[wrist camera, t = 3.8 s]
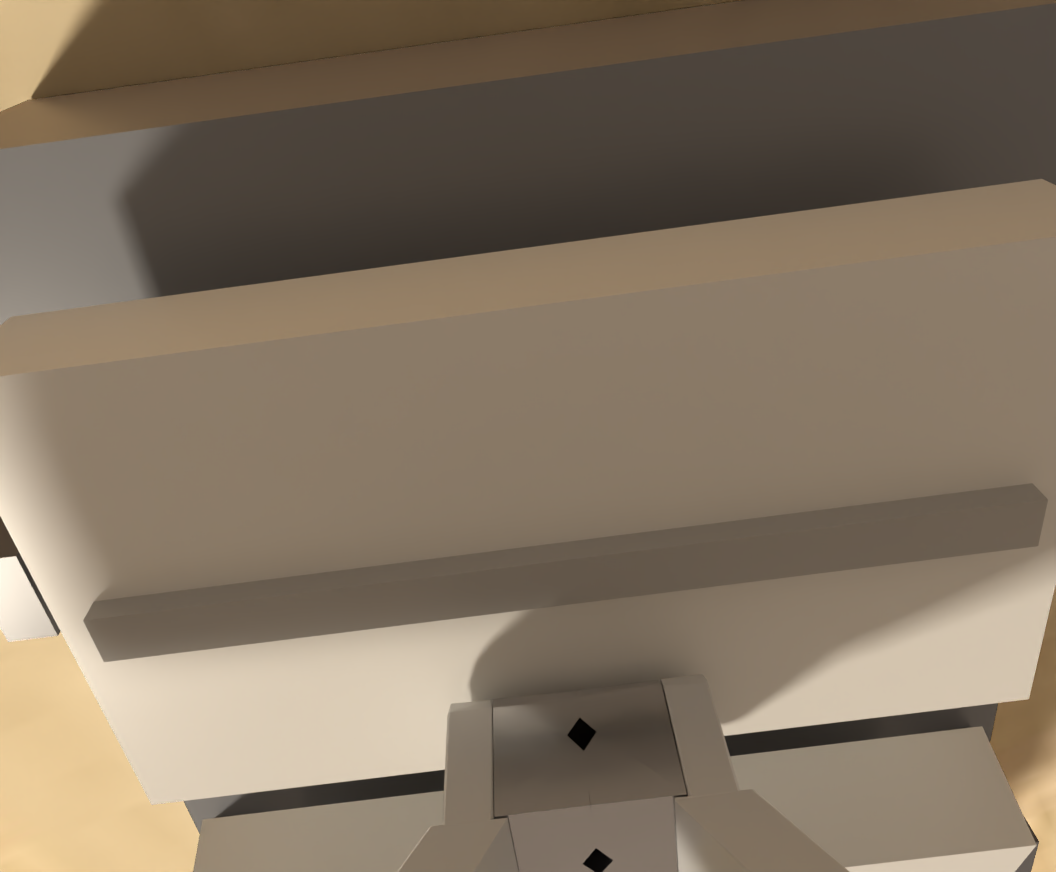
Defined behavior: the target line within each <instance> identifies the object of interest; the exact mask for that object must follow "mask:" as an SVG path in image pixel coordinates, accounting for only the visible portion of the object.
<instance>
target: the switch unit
mask: <svg viewBox="0 0 1056 872" xmlns="http://www.w3.org/2000/svg"><path fill="white" fill-rule="evenodd" d="M1036 179H1044V180H1046V181H1048V182H1050V183H1052V184H1054V185H1056V0H741V1H734V2H727V3H719V4H712V5H705V6H698V7H691V8H684V9H676V10H669V11H662V12H655V13H648V14H641V15H633V16H626V17H619V18H612V19H605V20H598V21H590V22H583V23H576V24H569V25H562V26H555V27H548V28H540V29H533V30H526V31H519V32H512V33H505V34H497V35H490V36H483V37H476V38H469V39H462V40H454V41H447V42H440V43H433V44H426V45H419V46H411V47H404V48H397V49H390V50H383V51H376V52H368V53H361V54H354V55H347V56H340V57H333V58H325V59H318V60H311V61H304V62H297V63H290V64H283V65H275V66H268V67H261V68H254V69H247V70H240V71H232V72H225V73H218V74H211V75H204V76H197V77H189V78H182V79H175V80H168V81H161V82H154V83H146V84H139V85H132V86H125V87H118V88H111V89H103V90H96V91H89V92H82V93H75V94H68V95H61V96H53V97H46V98H39V99H32V100H27V101H25V102H22V103H20V104H18V105H15V106H13V107H10V108H8V109H6V110H3V111H1V112H0V326H1V325H2V324H3V323H4V322H5V321H6V320H7V319H9V318H10V317H13V316H20V315H28V314H35V313H43V312H50V311H58V310H65V309H73V308H80V307H88V306H95V305H102V304H110V303H117V302H125V301H132V300H140V299H147V298H155V297H162V296H170V295H177V294H185V293H192V292H200V291H207V290H215V289H222V288H229V287H237V286H244V285H252V284H259V283H267V282H274V281H282V280H289V279H297V278H304V277H312V276H319V275H327V274H334V273H341V272H349V271H356V270H364V269H371V268H379V267H386V266H394V265H401V264H409V263H416V262H424V261H431V260H439V259H446V258H454V257H461V256H468V255H476V254H483V253H491V252H498V251H506V250H513V249H521V248H528V247H536V246H543V245H551V244H558V243H566V242H573V241H581V240H588V239H595V238H603V237H610V236H618V235H625V234H633V233H640V232H648V231H655V230H663V229H670V228H678V227H685V226H693V225H700V224H708V223H715V222H722V221H730V220H737V219H745V218H752V217H760V216H767V215H775V214H782V213H790V212H797V211H805V210H812V209H820V208H827V207H834V206H842V205H849V204H857V203H864V202H872V201H879V200H887V199H894V198H902V197H909V196H917V195H924V194H932V193H939V192H947V191H954V190H961V189H969V188H976V187H984V186H991V185H999V184H1006V183H1014V182H1021V181H1029V180H1036ZM0 628H1V630H2V632H3V634H4V636H5V637H6V639H7V641H8V642H12V641H20V640H28V639H36V638H44V637H52V636H58V635H59V633H60V629H59V627H58V625H57V623H56V622H55V620H54V618H53V616H52V614H51V612H50V610H49V608H48V606H47V604H46V602H45V601H44V599H43V597H42V595H41V593H40V591H39V589H38V587H37V585H36V583H35V581H34V580H33V578H32V576H31V574H30V572H29V570H28V568H27V566H26V564H25V562H24V560H23V559H22V557H21V555H20V553H19V551H18V549H17V547H16V545H15V543H14V541H13V539H12V538H11V536H10V534H9V532H8V530H7V528H6V526H5V524H4V522H3V520H2V518H1V517H0ZM997 706H998V703H994V704H985V705H977V706H969V707H961V708H952V709H944V710H936V711H927V712H919V713H911V714H902V715H894V716H886V717H877V718H869V719H861V720H853V721H844V722H836V723H828V724H819V725H811V726H803V727H794V728H786V729H778V730H769V731H761V732H753V733H744V734H736V735H728V736H724V737H725V741H726V744H727V747H728V751H729V754H730V756H738V755H746V754H754V753H763V752H771V751H779V750H788V749H796V748H804V747H813V746H821V745H829V744H838V743H846V742H854V741H863V740H871V739H879V738H888V737H896V736H905V735H913V734H921V733H930V732H938V731H946V730H955V729H963V728H971V727H980V726H982V727H983V729H984V731H985V733H986V735H987V738H988V740H989V742H990V740H991V735H992V730H993V725H994V720H995V716H996V711H997ZM444 778H445V770H437V771H429V772H420V773H412V774H404V775H395V776H387V777H379V778H371V779H362V780H354V781H346V782H337V783H329V784H321V785H312V786H304V787H296V788H287V789H279V790H271V791H262V792H254V793H246V794H238V795H229V796H221V797H213V798H204V799H196V800H188V801H184V803H185V805H186V807H187V809H188V811H189V813H190V815H191V817H192V819H193V821H194V823H195V825H196V827H197V829H198V831H199V833H200V831H201V825H202V820H203V819H212V818H220V817H228V816H237V815H245V814H253V813H262V812H270V811H278V810H287V809H295V808H303V807H312V806H320V805H328V804H337V803H345V802H353V801H362V800H370V799H379V798H387V797H395V796H404V795H412V794H420V793H429V792H437V791H444ZM1024 818H1025V817H1024ZM1025 821H1026V819H1025ZM1026 823H1027V825H1028V827H1029V829H1030V832H1031V834H1032V836H1033V838H1034V840H1035V842H1036V847H1035V848H1034V849H1033V850H1032V851H1031V853H1030V854H1029V855H1028V856H1027V858H1026V859H1025V860H1024V861H1023V862H1022V864H1021V865H1020V866H1019V867H1018V868H1017V870H1016V871H1015V872H1031V869H1032V866H1033V862H1034V858H1035V855H1036V851H1037V847H1038V844H1039V841H1038V839H1037V838H1036V836H1035V834H1034V833H1033V831H1032V829H1031V827H1030V826H1029V824H1028V822H1027V821H1026Z"/></svg>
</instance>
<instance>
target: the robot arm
mask: <svg viewBox="0 0 1056 872" xmlns="http://www.w3.org/2000/svg"><path fill="white" fill-rule="evenodd" d="M397 872H849V871H848V870H847V869H846V868H845V867H844V866H842V865H841V864H840V863H839V862H838V861H837V860H835V859H834V858H833V857H832V856H831V855H830V854H828V853H827V852H826V851H825V850H824V849H823V848H821V847H820V846H819V845H818V844H817V843H816V842H814V841H813V840H812V839H811V838H810V837H809V836H807V835H806V834H805V833H804V832H803V831H802V830H801V829H799V828H798V827H797V826H796V825H795V824H794V823H792V822H791V821H790V820H789V819H788V818H787V817H785V816H784V815H783V814H782V813H781V812H780V811H778V810H777V809H776V808H775V807H774V806H773V805H771V804H770V803H769V802H768V801H767V800H766V799H764V798H763V797H762V796H761V795H760V794H759V793H757V792H756V791H755V790H754V789H750V790H740V788H739V784H738V781H737V778H736V774H735V771H734V768H733V764H732V761H731V758H730V754H729V751H728V747H727V744H726V741H725V737H724V734H723V731H722V727H721V724H720V721H719V717H718V714H717V711H716V707H715V704H714V701H713V697H712V694H711V691H710V687H709V684H708V680H707V679H706V678H705V677H704V676H703V674H698V675H690V676H683V677H675V678H667V679H661V680H660V681H659V680H650V681H642V682H635V683H627V684H619V685H612V686H604V687H596V688H589V689H581V690H576V691H571V692H561V693H550V694H539V695H529V696H518V697H508V698H497V699H494V700H484V701H473V702H463V703H452V704H451V705H450V708H449V712H448V715H447V734H446V756H445V778H444V799H443V821H442V825H438V826H431V827H429V828H428V830H427V831H426V832H425V834H424V835H423V836H422V838H421V839H420V841H419V842H418V843H417V845H416V846H415V848H414V849H413V850H412V852H411V853H410V855H409V856H408V857H407V859H406V860H405V862H404V863H403V864H402V866H401V867H400V869H399V870H398V871H397Z"/></svg>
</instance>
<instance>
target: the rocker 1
mask: <svg viewBox="0 0 1056 872" xmlns="http://www.w3.org/2000/svg"><path fill="white" fill-rule="evenodd" d="M0 517H1V518H2V520H3V522H4V524H5V526H6V528H7V530H8V532H9V534H10V536H11V538H12V539H13V541H14V543H15V545H16V547H17V549H18V551H19V553H20V555H21V557H22V559H23V560H24V562H25V564H26V566H27V568H28V570H29V572H30V574H31V576H32V578H33V580H34V581H35V583H36V585H37V587H38V589H39V591H40V593H41V595H42V597H43V599H44V601H45V602H46V604H47V606H48V608H49V610H50V612H51V614H52V616H53V618H54V620H55V622H56V623H57V625H58V627H59V629H60V631H61V633H62V635H63V637H64V639H65V641H66V643H67V644H68V646H69V648H70V650H71V652H72V654H73V656H74V658H75V660H76V662H77V664H78V665H79V667H80V669H81V671H82V673H83V675H84V677H85V679H86V681H87V683H88V685H89V686H90V688H91V690H92V692H93V694H94V696H95V698H96V700H97V702H98V704H99V706H100V707H101V709H102V711H103V713H104V715H105V717H106V719H107V721H108V723H109V725H110V727H111V728H112V730H113V732H114V734H115V736H116V738H117V740H118V742H119V744H120V746H121V748H122V749H123V751H124V753H125V755H126V757H127V759H128V761H129V763H130V765H131V767H132V769H133V770H134V772H135V774H136V776H137V778H138V780H139V782H140V784H141V786H142V788H143V790H144V791H145V793H146V795H147V797H148V799H149V801H150V803H151V805H154V804H163V803H171V802H179V801H188V800H196V799H204V798H213V797H221V796H229V795H238V794H246V793H254V792H262V791H271V790H279V789H287V788H296V787H304V786H312V785H321V784H329V783H337V782H346V781H354V780H362V779H371V778H379V777H387V776H395V775H404V774H412V773H420V772H429V771H437V770H445V756H446V734H447V715H448V712H449V708H450V705H451V704H452V703H463V702H473V701H484V700H494V699H497V698H508V697H518V696H529V695H539V694H550V693H561V692H571V691H576V690H581V689H589V688H596V687H604V686H612V685H619V684H627V683H635V682H642V681H650V680H659V681H660V680H661V679H667V678H675V677H683V676H690V675H698V674H703V676H704V677H705V678H706V679H707V680H708V684H709V687H710V691H711V694H712V697H713V701H714V704H715V707H716V711H717V714H718V717H719V721H720V724H721V727H722V731H723V734H724V736H728V735H736V734H744V733H753V732H761V731H769V730H778V729H786V728H794V727H803V726H811V725H819V724H828V723H836V722H844V721H853V720H861V719H869V718H877V717H886V716H894V715H902V714H911V713H919V712H927V711H936V710H944V709H952V708H961V707H969V706H977V705H985V704H994V703H1002V702H1010V701H1019V700H1027V699H1029V697H1030V692H1031V688H1032V684H1033V679H1034V675H1035V671H1036V667H1037V662H1038V658H1039V654H1040V649H1041V645H1042V641H1043V637H1044V632H1045V628H1046V624H1047V619H1048V615H1049V611H1050V606H1051V602H1052V598H1053V594H1054V589H1055V585H1056V185H1054V184H1052V183H1050V182H1048V181H1046V180H1044V179H1036V180H1029V181H1021V182H1014V183H1006V184H999V185H991V186H984V187H976V188H969V189H961V190H954V191H947V192H939V193H932V194H924V195H917V196H909V197H902V198H894V199H887V200H879V201H872V202H864V203H857V204H849V205H842V206H834V207H827V208H820V209H812V210H805V211H797V212H790V213H782V214H775V215H767V216H760V217H752V218H745V219H737V220H730V221H722V222H715V223H708V224H700V225H693V226H685V227H678V228H670V229H663V230H655V231H648V232H640V233H633V234H625V235H618V236H610V237H603V238H595V239H588V240H581V241H573V242H566V243H558V244H551V245H543V246H536V247H528V248H521V249H513V250H506V251H498V252H491V253H483V254H476V255H468V256H461V257H454V258H446V259H439V260H431V261H424V262H416V263H409V264H401V265H394V266H386V267H379V268H371V269H364V270H356V271H349V272H341V273H334V274H327V275H319V276H312V277H304V278H297V279H289V280H282V281H274V282H267V283H259V284H252V285H244V286H237V287H229V288H222V289H215V290H207V291H200V292H192V293H185V294H177V295H170V296H162V297H155V298H147V299H140V300H132V301H125V302H117V303H110V304H102V305H95V306H88V307H80V308H73V309H65V310H58V311H50V312H43V313H35V314H28V315H20V316H13V317H10V318H9V319H7V320H6V321H5V322H4V323H3V324H2V325H1V326H0Z"/></svg>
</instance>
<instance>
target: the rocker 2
mask: <svg viewBox="0 0 1056 872" xmlns="http://www.w3.org/2000/svg"><path fill="white" fill-rule="evenodd" d="M730 758H731V761H732V764H733V768H734V771H735V774H736V778H737V781H738V784H739V788H740V790H750V789H754V790H755V791H756V792H757V793H759V794H760V795H761V796H762V797H763V798H764V799H766V800H767V801H768V802H769V803H770V804H771V805H773V806H774V807H775V808H776V809H777V810H778V811H780V812H781V813H782V814H783V815H784V816H785V817H787V818H788V819H789V820H790V821H791V822H792V823H794V824H795V825H796V826H797V827H798V828H799V829H801V830H802V831H803V832H804V833H805V834H806V835H807V836H809V837H810V838H811V839H812V840H813V841H814V842H816V843H817V844H818V845H819V846H820V847H821V848H823V849H824V850H825V851H826V852H827V853H828V854H830V855H831V856H832V857H833V858H834V859H835V860H837V861H838V862H839V863H840V864H841V865H842V866H844V867H845V868H846V869H847V870H848V871H849V872H1015V871H1016V870H1017V868H1018V867H1019V866H1020V865H1021V864H1022V862H1023V861H1024V860H1025V859H1026V858H1027V856H1028V855H1029V854H1030V853H1031V851H1032V850H1033V849H1034V848H1035V847H1036V842H1035V840H1034V838H1033V836H1032V834H1031V832H1030V829H1029V827H1028V825H1027V823H1026V821H1025V818H1024V816H1023V814H1022V812H1021V810H1020V807H1019V805H1018V803H1017V801H1016V799H1015V797H1014V794H1013V792H1012V790H1011V788H1010V786H1009V783H1008V781H1007V779H1006V777H1005V775H1004V773H1003V770H1002V768H1001V766H1000V764H999V762H998V759H997V757H996V755H995V753H994V751H993V749H992V746H991V744H990V742H989V740H988V738H987V735H986V733H985V731H984V729H983V727H982V726H980V727H971V728H963V729H955V730H946V731H938V732H930V733H921V734H913V735H905V736H896V737H888V738H879V739H871V740H863V741H854V742H846V743H838V744H829V745H821V746H813V747H804V748H796V749H788V750H779V751H771V752H763V753H754V754H746V755H738V756H730ZM443 799H444V791H437V792H429V793H420V794H412V795H404V796H395V797H387V798H379V799H370V800H362V801H353V802H345V803H337V804H328V805H320V806H312V807H303V808H295V809H287V810H278V811H270V812H262V813H253V814H245V815H237V816H228V817H220V818H212V819H203V820H202V825H201V831H200V836H199V842H198V848H197V853H196V859H195V865H194V870H193V872H397V871H398V870H399V869H400V867H401V866H402V864H403V863H404V862H405V860H406V859H407V857H408V856H409V855H410V853H411V852H412V850H413V849H414V848H415V846H416V845H417V843H418V842H419V841H420V839H421V838H422V836H423V835H424V834H425V832H426V831H427V830H428V828H429V827H431V826H438V825H442V821H443Z"/></svg>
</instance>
